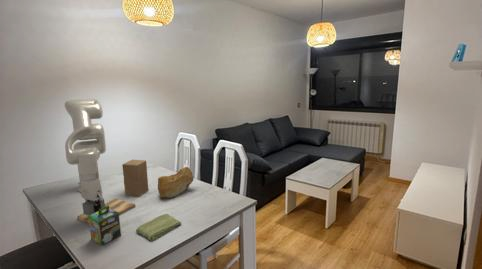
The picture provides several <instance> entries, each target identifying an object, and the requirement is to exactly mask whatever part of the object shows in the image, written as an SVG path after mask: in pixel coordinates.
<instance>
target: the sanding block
mask: <svg viewBox="0 0 482 269" xmlns="http://www.w3.org/2000/svg"><path fill="white" fill-rule="evenodd" d="M97 201H98V200H96V202H97ZM105 203H106V202H105V199H104V200H103V201H102V202H101V208H104V207H105ZM81 205H82V212H83V213H84V215H86V216H89V215H91V214H93V213H95V211H94V205H95V204H94V201H91V200H89V201H87V202H83V203H82V204H81ZM83 213H82V214H83Z"/></svg>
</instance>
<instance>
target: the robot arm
mask: <svg viewBox="0 0 482 269" xmlns="http://www.w3.org/2000/svg"><path fill="white" fill-rule="evenodd" d="M64 108H65V111H66V112H67V113H68V115H69V116H70V118H71V122H72V127H73V128H72V129H73V130H72V132H71V134H70V135H69V136H68V137H67V139H66V141H65V142H64V143H65V145H64V149H65V157H66V162H67V164H69V165H73V166H74V165H77V171H78V172H77V173H78V179H79V182H78V185H79V187H78V188H77V191H78V192H79V193H80V196H81V197H80V198H82V199H84V201H85V202H87V201H89V200H91V201H94V204H95V205H94V211H95V212H98V211H99V209H101V202H102V201H103V200H104V201H105V198H104V197H103V191H102V184H101V181H100V174H99V165H98V161H99V158H100V157H101V155H103V154H105V152H106V151H107V146H106V137H105V130H104V127H103V125H102V124H101V123H93V122H92V120H97V119H102V117H103V115H104V114H103V108H102V105H101V102H100V101H99V100H98V99H96V98H95V99H90V98H89V99H69V100H66V101H65V102H64ZM74 143H75V144H74ZM96 200H98V201H97V202H96ZM85 202H84V203H85Z"/></svg>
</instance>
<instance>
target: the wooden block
mask: <svg viewBox="0 0 482 269" xmlns="http://www.w3.org/2000/svg"><path fill="white" fill-rule="evenodd" d="M122 174H123V175H122V176H123V183H124V184H123V185H124V194H125V196H130V197H131V196H133V197H141V196H142V195H143V194H145V193H146V192H148V191H149V179H148V167H147V160H145V159H131V160H128V161H126V162H125V163H122Z"/></svg>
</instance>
